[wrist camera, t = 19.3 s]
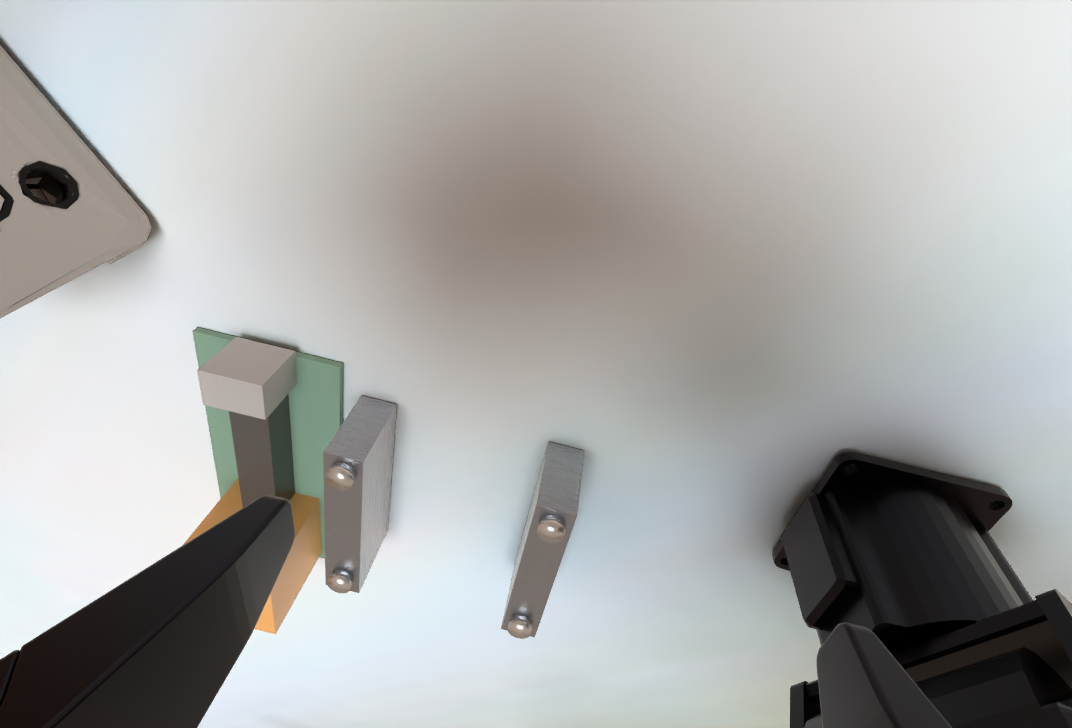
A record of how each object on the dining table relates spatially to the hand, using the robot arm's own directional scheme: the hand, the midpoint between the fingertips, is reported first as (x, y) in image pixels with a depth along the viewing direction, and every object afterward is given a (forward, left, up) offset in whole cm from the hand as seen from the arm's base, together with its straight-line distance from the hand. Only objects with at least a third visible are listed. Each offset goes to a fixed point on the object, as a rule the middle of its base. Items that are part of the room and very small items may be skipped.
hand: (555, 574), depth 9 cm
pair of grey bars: (+3, +12, -12) cm, 17 cm away
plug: (+12, +12, -12) cm, 20 cm away
